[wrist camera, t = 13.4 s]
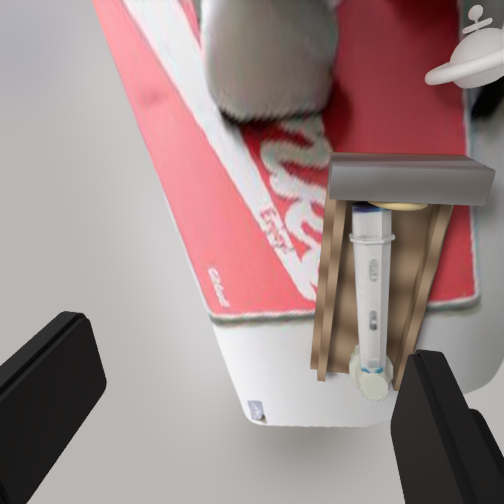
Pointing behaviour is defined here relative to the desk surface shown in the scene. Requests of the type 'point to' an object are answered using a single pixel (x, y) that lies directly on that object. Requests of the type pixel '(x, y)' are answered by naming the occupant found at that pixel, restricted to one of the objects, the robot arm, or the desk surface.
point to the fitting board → (402, 247)
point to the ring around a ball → (473, 56)
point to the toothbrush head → (371, 298)
